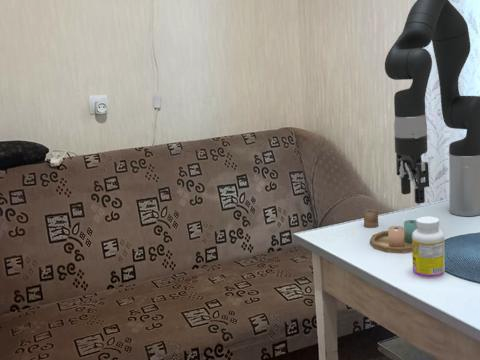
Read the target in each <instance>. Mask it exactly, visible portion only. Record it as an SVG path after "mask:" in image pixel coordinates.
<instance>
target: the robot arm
mask: <svg viewBox="0 0 480 360" xmlns="http://www.w3.org/2000/svg"><path fill="white" fill-rule="evenodd" d="M468 25H469V24H468V23H467V21H466V19H465V18H464V16H463V14H461V12H460V11H459V10H458V9H457V8H456V7H455V6H454V5H453V4H452V3H451V2H450V1H449V0H416V1H415V2H414V4H413V5H412V7H411V8H410V10H409V12H408V14H407V17H406V21H405V23H404V27H403V29H402V32H401V33H400V35H399V36H398V38H397V39H396V41H395V42H394V43H393V45H392V46H391V48H390V49H389V50H388V53H387V55H386V57H385V62H384V71H385V74H386V76H387V77H388V79H389V78H390V79H392V80H393V81H398V80H399V81H401V80H412V82H411V85H410V86H409V88H405V89H401V90H398V91H397V92H395V93H394V96H393V102H394V103H393V104H394V107H393V108H394V122H393V132H394V153H395V154H396V155H395V156H396V158H395V159H396V161H395V162H396V165H395V166H396V175H397V176H398V177H399V181H400V191H401V194H402V195H410V194H411V193H412V192H411V181H412V183H413V188H414V191H413V193H414V203H415V204H417V205H419V204H424V203H425V202H426V197H425V195H426V193H425V192H426V191H425V189H426V188H429V187H430V174H429V172H430V171H429V163H428V161H425V162H424V161H422V155H424V154H426V153H427V152H428V125H427V117H426V93H427V88H428V83H429V79H430V76H431V72H432V68H433V58H432V56H431V53H430V51H428V49H426V48H427V47H428V46H429V45H430V44H432V49H433V53H434V57H435V62H436V68H437V75H438V76H437V77H438V82H439V93H440V104H441V105H440V106H441V115H442V120H443V122H444V124H445V125H446V127H447V128H450V129H454V130H455V129H456V130H466V134H465V137H464V138H461V139H459V140H455V141H452V142H451V143H450V144H449V146H448V153H449V154H448V156H449V157H448V160H449V161H448V163H449V164H448V166H449V167H448V171H449V176H448V177H449V182H448V183H449V184H448V185H449V188H448V189H449V198H448V199H449V203H448V204H449V213H451V214H453V215H455V216H460V217H461V216H462V217H475V216H479V215H480V95H461V93H460V91H459V79H460V74H461V72H462V71H463V68H464V66H465V64H466V61H467V60H468V58H469V55H470V52H471V39H470V32H469V27H468Z"/></svg>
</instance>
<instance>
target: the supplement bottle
mask: <svg viewBox="0 0 480 360" xmlns="http://www.w3.org/2000/svg"><path fill="white" fill-rule="evenodd" d="M415 220H416V225H417V227H418V229H416V230H415V231H414V232H413V234H412V273H413V275H414V276H416V277H419V278H422V279H438V278H440V277H442V276H444V275H445V273H446V271H445V270H446V269H445V268H446V267H445V262H446V261H445V233H444V232H443V231H442V230H441V229H440V228H439V227H440V219H439V218H438V217H435V216H421V217H418V218H417V219H415Z"/></svg>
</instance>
